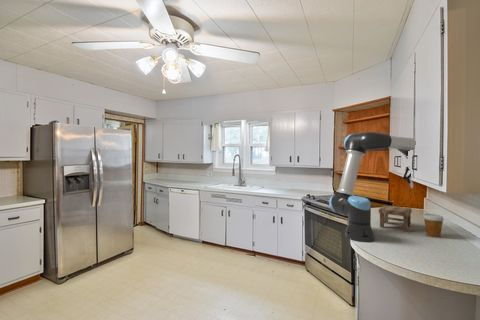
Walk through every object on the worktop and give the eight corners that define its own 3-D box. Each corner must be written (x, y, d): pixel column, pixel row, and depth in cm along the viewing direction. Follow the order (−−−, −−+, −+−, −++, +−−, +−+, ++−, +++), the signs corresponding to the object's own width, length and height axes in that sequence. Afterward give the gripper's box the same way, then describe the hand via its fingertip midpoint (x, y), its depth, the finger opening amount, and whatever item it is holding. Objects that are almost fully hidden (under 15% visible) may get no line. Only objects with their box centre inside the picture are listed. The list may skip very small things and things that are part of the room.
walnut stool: (378, 227, 157) (378, 209, 157) (384, 222, 169) (384, 205, 169) (408, 232, 147) (408, 212, 146) (411, 226, 158) (411, 208, 158)
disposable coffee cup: (436, 233, 143) (435, 213, 143) (448, 238, 134) (448, 217, 134) (419, 233, 144) (419, 213, 144) (430, 238, 135) (430, 217, 135)
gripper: (435, 166, 162) (446, 191, 148) (393, 166, 169) (400, 190, 155) (438, 158, 157) (451, 183, 143) (395, 159, 164) (403, 183, 150)
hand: (425, 187), depth 149 cm, fingers open, 13 cm apart
